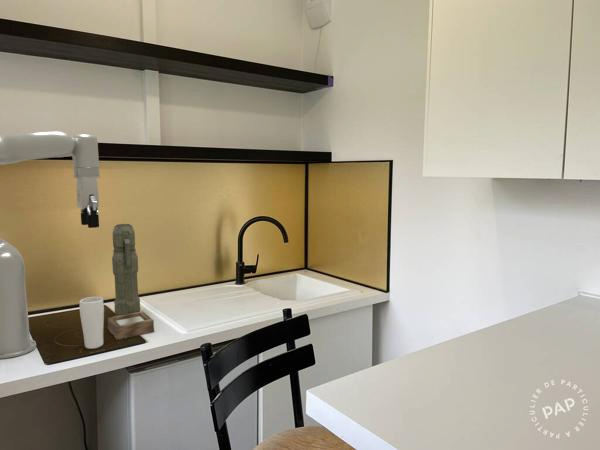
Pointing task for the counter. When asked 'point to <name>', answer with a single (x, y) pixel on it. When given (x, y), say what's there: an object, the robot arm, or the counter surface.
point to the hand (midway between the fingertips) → (90, 226)
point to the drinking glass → (92, 321)
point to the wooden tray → (130, 325)
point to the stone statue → (125, 270)
